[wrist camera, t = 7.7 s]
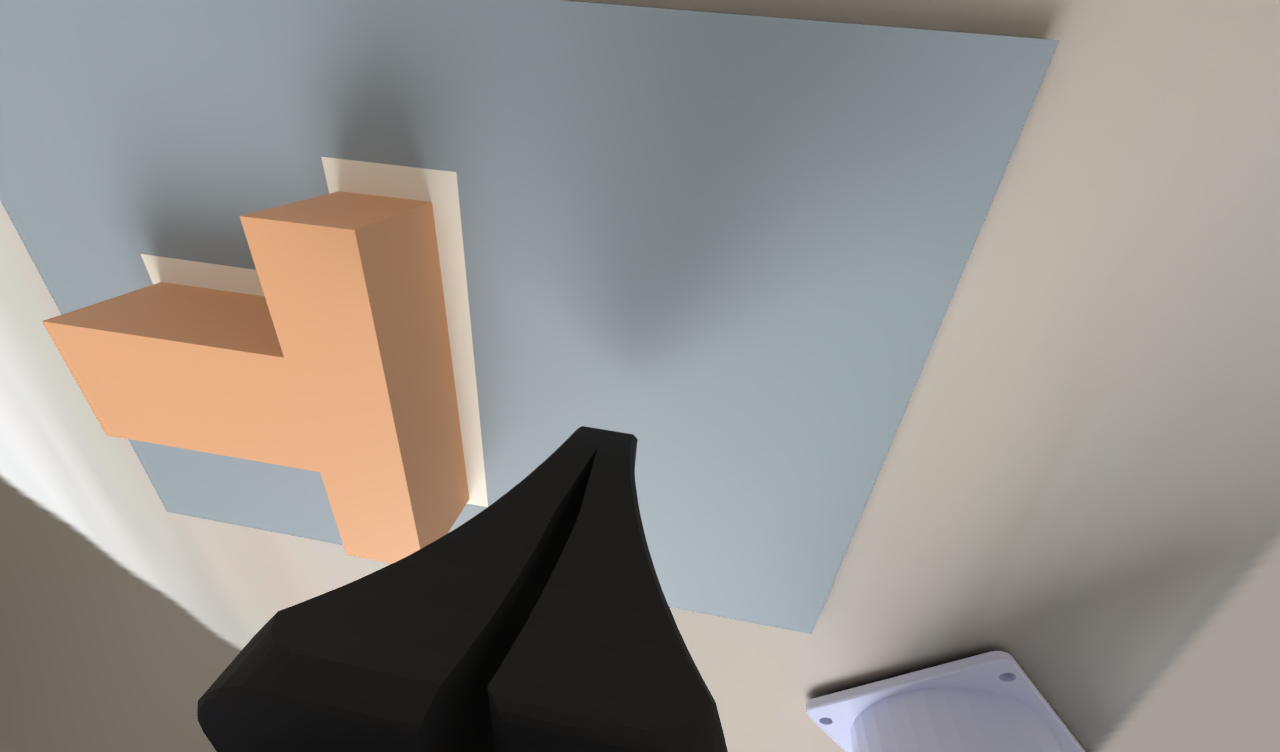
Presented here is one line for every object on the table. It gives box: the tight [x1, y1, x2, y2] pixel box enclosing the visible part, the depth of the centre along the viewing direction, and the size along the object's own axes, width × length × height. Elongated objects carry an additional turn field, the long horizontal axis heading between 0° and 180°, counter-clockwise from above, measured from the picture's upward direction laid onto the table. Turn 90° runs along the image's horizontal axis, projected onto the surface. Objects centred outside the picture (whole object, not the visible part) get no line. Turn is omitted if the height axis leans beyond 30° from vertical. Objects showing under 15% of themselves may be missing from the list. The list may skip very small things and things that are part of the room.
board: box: [0, 0, 1059, 634], centre depth 15 cm, size 26×18×1 cm
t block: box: [42, 191, 469, 564], centre depth 14 cm, size 9×10×3 cm
